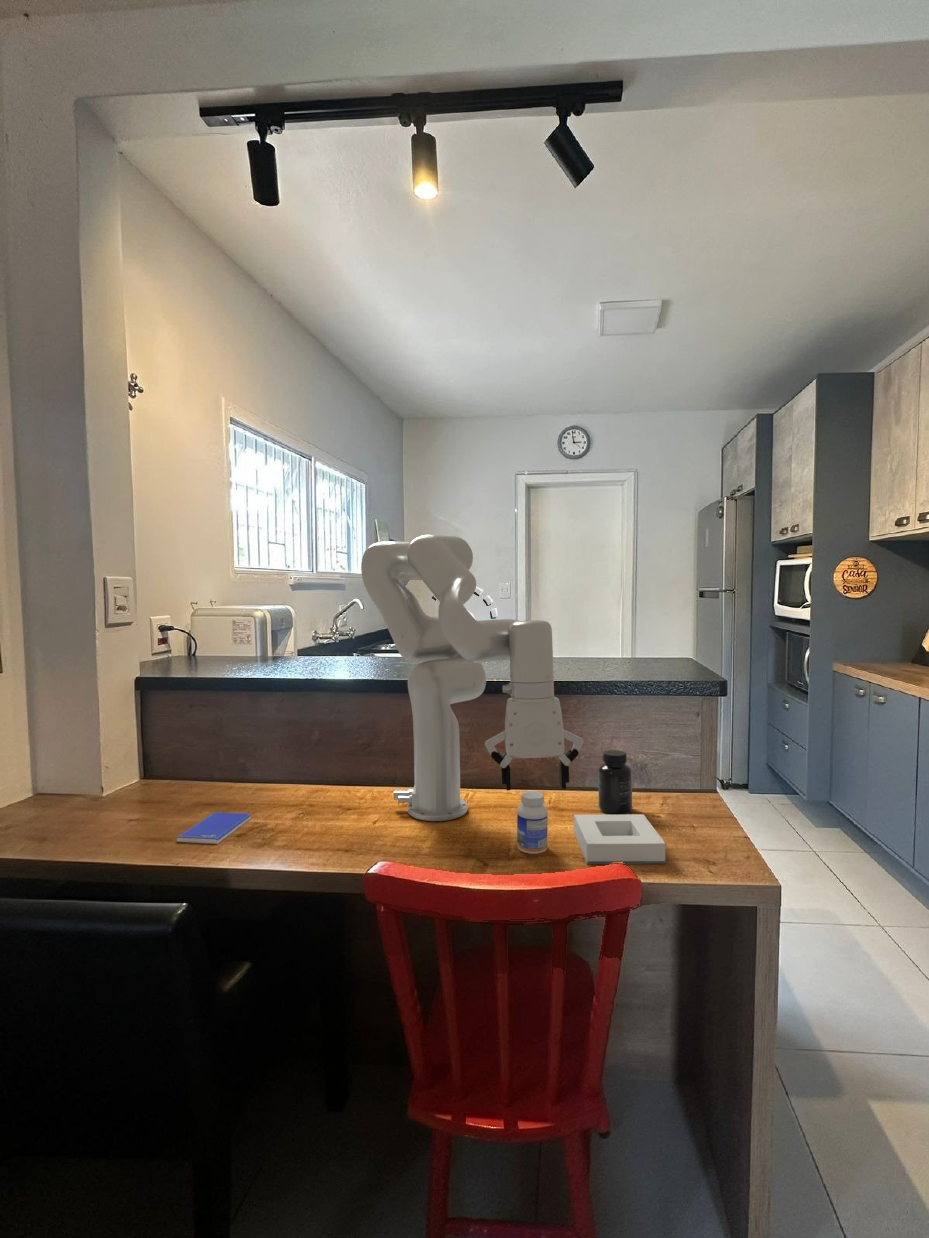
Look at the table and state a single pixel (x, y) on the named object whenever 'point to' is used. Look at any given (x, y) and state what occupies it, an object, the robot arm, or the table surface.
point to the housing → (618, 839)
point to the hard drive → (214, 828)
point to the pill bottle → (532, 823)
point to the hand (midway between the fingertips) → (535, 787)
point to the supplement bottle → (615, 783)
